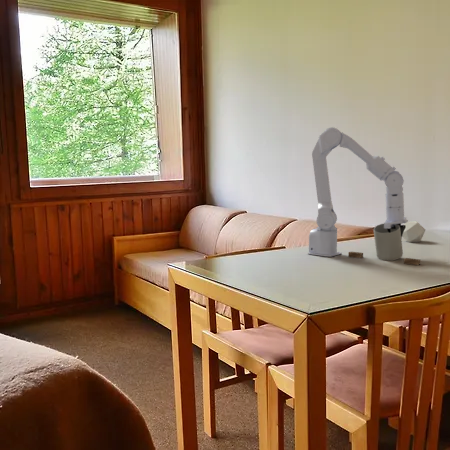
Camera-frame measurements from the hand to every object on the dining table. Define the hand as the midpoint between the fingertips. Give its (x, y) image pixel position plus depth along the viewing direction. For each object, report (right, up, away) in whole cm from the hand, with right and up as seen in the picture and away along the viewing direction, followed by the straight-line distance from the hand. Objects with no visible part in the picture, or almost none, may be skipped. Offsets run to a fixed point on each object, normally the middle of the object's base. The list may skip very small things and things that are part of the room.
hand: (396, 246), depth 172 cm
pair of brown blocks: (-6, -4, -5) cm, 9 cm away
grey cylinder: (-3, -3, -2) cm, 4 cm away
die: (+18, 0, +33) cm, 37 cm away
